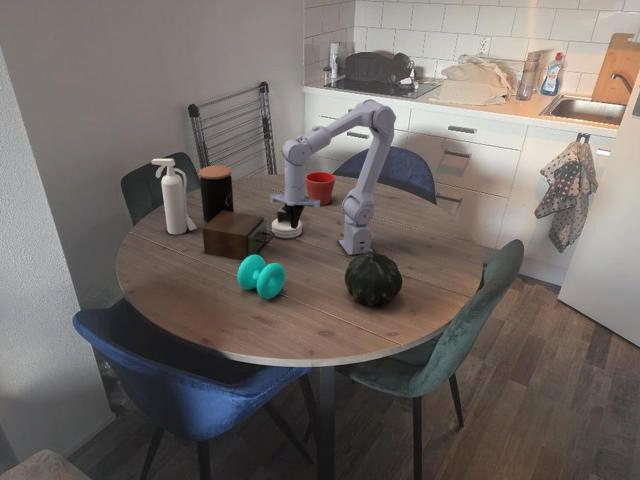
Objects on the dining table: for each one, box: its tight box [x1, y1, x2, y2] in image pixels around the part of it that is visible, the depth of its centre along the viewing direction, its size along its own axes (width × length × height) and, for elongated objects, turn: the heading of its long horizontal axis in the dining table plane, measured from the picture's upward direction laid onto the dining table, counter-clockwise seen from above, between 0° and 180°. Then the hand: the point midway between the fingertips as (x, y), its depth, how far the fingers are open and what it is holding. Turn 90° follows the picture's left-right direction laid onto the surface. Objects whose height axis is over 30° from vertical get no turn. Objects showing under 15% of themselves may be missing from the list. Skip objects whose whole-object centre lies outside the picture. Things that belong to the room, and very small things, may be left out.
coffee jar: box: [198, 165, 235, 224], centre depth 170 cm, size 11×11×18 cm
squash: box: [344, 251, 403, 307], centre depth 130 cm, size 14×15×15 cm
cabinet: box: [201, 210, 265, 261], centre depth 156 cm, size 15×14×9 cm
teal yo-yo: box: [237, 254, 286, 300], centre depth 133 cm, size 10×10×10 cm
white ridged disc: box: [271, 217, 303, 239], centre depth 165 cm, size 10×10×4 cm
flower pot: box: [305, 171, 336, 206], centre depth 185 cm, size 11×11×10 cm
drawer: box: [247, 219, 276, 256], centre depth 155 cm, size 18×12×7 cm
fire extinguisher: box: [150, 158, 197, 236], centre depth 161 cm, size 7×12×25 cm, turn 74°
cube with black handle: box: [276, 205, 291, 226], centre depth 163 cm, size 5×4×5 cm
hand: (294, 227), depth 146 cm, fingers closed
